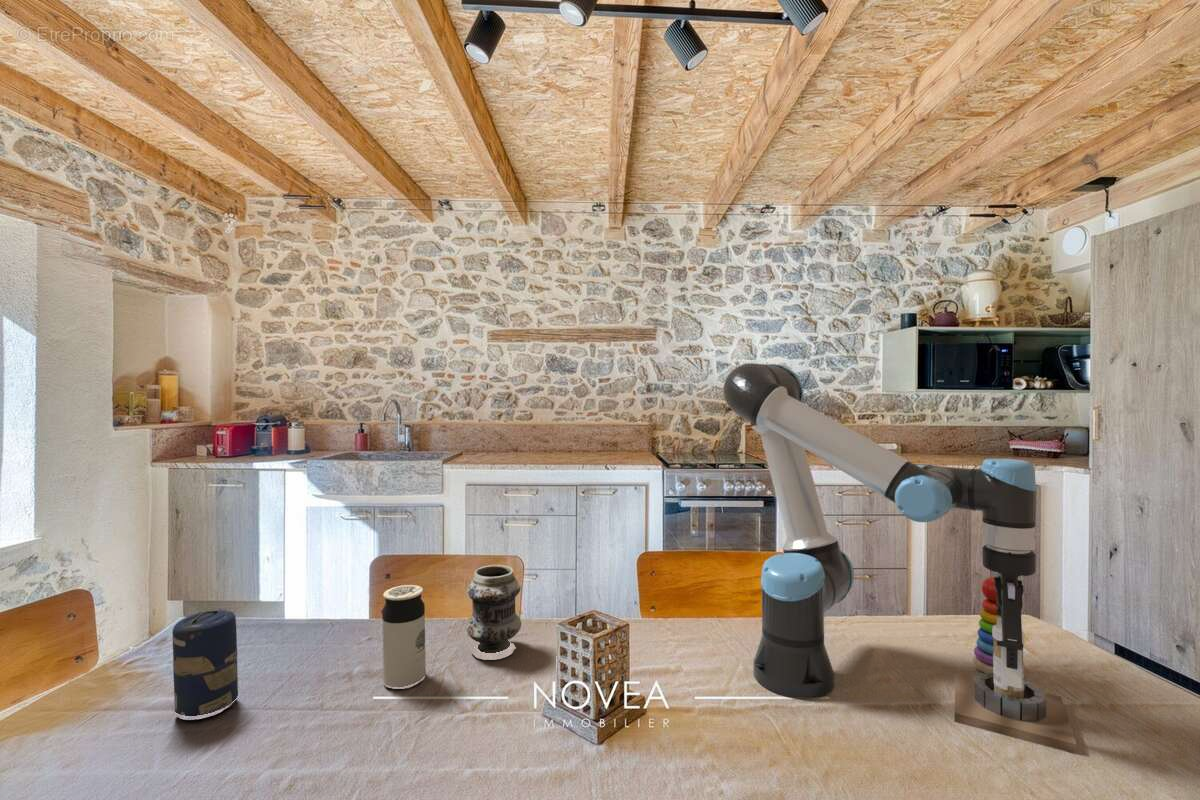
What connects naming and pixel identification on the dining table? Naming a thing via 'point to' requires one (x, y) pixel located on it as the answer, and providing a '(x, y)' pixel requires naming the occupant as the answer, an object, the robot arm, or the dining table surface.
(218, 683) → the canister
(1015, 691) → the sprinkles bottle
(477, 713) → the dining table surface
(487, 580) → the apothecary jar
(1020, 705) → the collar
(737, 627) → the dining table surface
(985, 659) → the stacking toy
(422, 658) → the travel mug
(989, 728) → the base board
